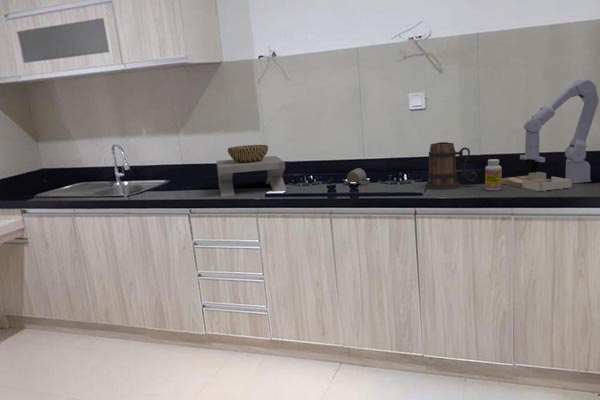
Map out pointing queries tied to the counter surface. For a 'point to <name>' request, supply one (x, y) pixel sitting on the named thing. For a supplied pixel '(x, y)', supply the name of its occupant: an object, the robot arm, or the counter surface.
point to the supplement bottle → (493, 175)
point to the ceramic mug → (357, 177)
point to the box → (547, 184)
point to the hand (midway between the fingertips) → (531, 176)
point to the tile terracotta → (539, 180)
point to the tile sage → (537, 175)
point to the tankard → (445, 167)
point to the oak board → (517, 181)
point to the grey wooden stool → (250, 167)
